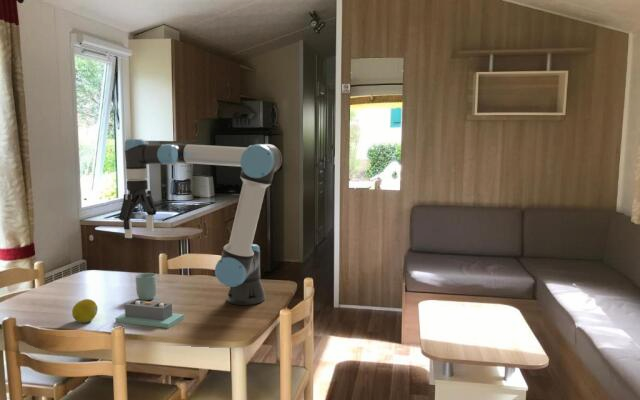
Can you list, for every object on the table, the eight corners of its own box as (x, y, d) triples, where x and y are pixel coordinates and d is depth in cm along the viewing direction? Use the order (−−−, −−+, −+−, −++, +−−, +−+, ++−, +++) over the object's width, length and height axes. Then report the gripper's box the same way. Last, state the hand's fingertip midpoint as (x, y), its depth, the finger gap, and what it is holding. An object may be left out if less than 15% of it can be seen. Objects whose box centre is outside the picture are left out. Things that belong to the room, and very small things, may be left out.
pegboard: (184, 318, 190) (183, 301, 189) (169, 328, 181) (168, 310, 180) (133, 312, 196) (132, 296, 196) (115, 322, 187) (114, 304, 186)
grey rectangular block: (172, 315, 189) (171, 302, 188) (163, 320, 184) (162, 306, 183) (134, 311, 193) (134, 298, 193) (125, 316, 188) (124, 303, 187)
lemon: (85, 327, 182) (83, 305, 181) (66, 325, 184) (64, 303, 183) (105, 317, 192) (104, 296, 191) (87, 315, 194) (86, 294, 193)
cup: (150, 302, 208) (149, 278, 207) (133, 301, 210) (131, 277, 209) (160, 296, 216) (159, 273, 215) (143, 295, 218) (142, 272, 216)
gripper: (148, 177, 211) (150, 228, 214) (106, 182, 187) (110, 240, 190) (164, 177, 209) (166, 229, 211) (124, 182, 185) (127, 241, 188)
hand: (139, 234), depth 201 cm, fingers open, 13 cm apart
